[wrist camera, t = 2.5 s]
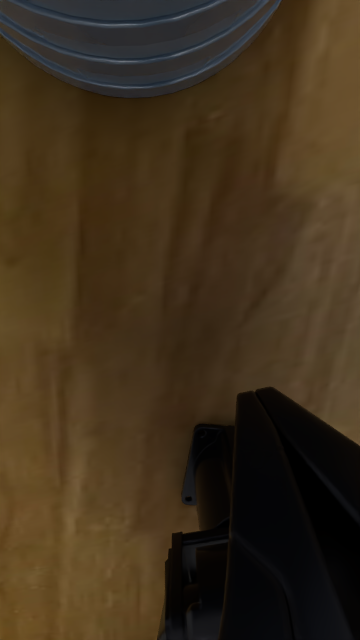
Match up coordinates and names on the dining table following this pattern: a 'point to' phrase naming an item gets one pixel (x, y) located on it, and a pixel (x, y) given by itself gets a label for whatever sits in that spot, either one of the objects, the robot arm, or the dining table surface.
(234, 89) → the dining table surface
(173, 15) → the plate stack
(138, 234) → the dining table surface
